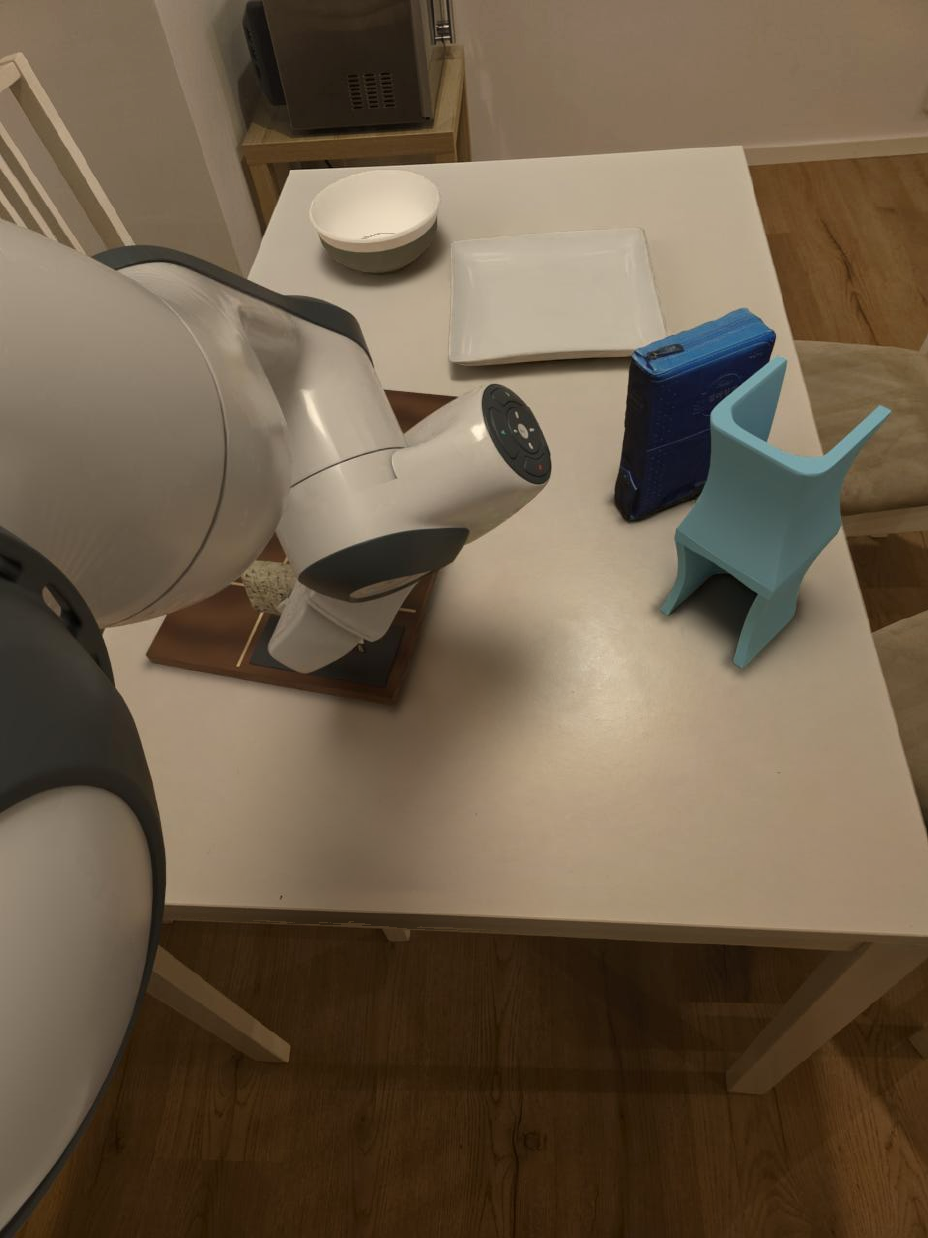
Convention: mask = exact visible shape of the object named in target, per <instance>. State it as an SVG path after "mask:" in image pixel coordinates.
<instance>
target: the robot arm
mask: <svg viewBox="0 0 928 1238" xmlns="http://www.w3.org/2000/svg"><path fill="white" fill-rule="evenodd" d="M383 389H384V387H383V385H382V383H381V381H380V379H379V376H378V374H377V373H376V369H375V365H374V361H373V358H372V355H371V352H370V349H369V346H368V344H367V341H366V339H365V337H364V333H363V331H362V328H361V325H360V322H359V321H358V319H357V318H356V317H355V315H353V314H352V313H351V312H349V311H348V310H346V309H345V308H342V307H340V306H338V305H336V304H333V303H331V302H329V301H326V300H324V299H320V298H316V297H313V296H308V295H299V294H282V293H279V292H277V291H274V290H272V289H269V288H268V287H266V286H263V285H260V284H258V283H256V282H255V281H252V280H250V279H247V278H245V277H243V276H241V275H240V274H237V273H235V272H232V271H230V270H228V269H226V268H223V267H221V266H219V265H217V264H214V263H212V262H210V261H208V260H205V259H203V258H200V257H198V256H195V255H192V254H189V253H187V252H185V251H184V252H183V251H181V250H177V249H174V248H169V247H167V246H159V245H153V244H151V245H150V244H133V245H124V246H119V247H114V248H110V249H107V250H104V251H101V252H98V253H96V254H93V255H91V256H89V255H87V254H86V253H84V252H81V251H79V250H77V249H74V248H73V247H70V246H68V245H66V244H64V243H61V242H59V241H58V240H54V239H53V238H51V237H48V236H46V235H45V234H41V233H39V232H37V231H34V230H32V229H29V228H27V227H24V226H22V225H18V224H17V223H13V222H11V221H8V220H5V219H3V218H0V1238H15V1237H16V1235H17V1234H18V1233H19V1231H20V1230H21V1229H22V1227H23V1226H24V1225H25V1224H26V1223H27V1221H28V1220H29V1218H30V1217H31V1216H32V1215H33V1213H34V1212H35V1211H36V1209H37V1208H38V1206H39V1205H40V1203H41V1201H42V1200H43V1199H44V1197H45V1196H46V1195H47V1193H48V1192H49V1190H50V1189H51V1187H52V1186H53V1184H54V1183H55V1181H56V1180H57V1178H58V1177H59V1175H60V1173H62V1170H63V1169H64V1167H65V1166H66V1164H67V1162H68V1161H69V1159H70V1158H71V1156H72V1154H73V1153H74V1151H75V1149H76V1148H77V1146H78V1144H79V1143H80V1141H81V1139H82V1138H83V1136H84V1134H85V1132H86V1130H87V1129H88V1127H89V1125H90V1123H91V1121H92V1119H93V1118H94V1116H95V1114H96V1112H97V1110H98V1108H99V1107H100V1105H101V1103H102V1101H103V1098H104V1097H105V1094H106V1092H107V1090H108V1088H109V1086H110V1084H111V1082H112V1079H113V1078H114V1076H115V1074H116V1071H117V1069H118V1067H119V1065H120V1062H121V1059H122V1057H123V1055H124V1053H125V1050H126V1048H127V1046H128V1043H129V1041H130V1039H131V1036H132V1033H133V1030H134V1027H135V1025H136V1022H137V1020H138V1017H139V1014H140V1012H141V1009H142V1006H143V1003H144V999H145V996H146V994H147V989H148V986H149V983H150V979H151V976H152V973H153V969H154V964H155V961H156V957H157V952H158V947H159V943H160V938H161V933H162V926H163V920H164V914H165V904H166V893H167V856H166V854H167V853H166V847H165V839H164V833H163V828H162V821H161V815H160V810H159V806H158V801H157V796H156V792H155V787H154V783H153V778H152V775H151V770H150V768H149V764H148V761H147V758H146V753H145V750H144V747H143V743H142V740H141V736H140V733H139V730H138V728H137V725H136V722H135V719H134V717H133V715H132V712H131V710H130V708H129V706H128V704H127V703H126V701H125V699H124V698H123V696H122V694H121V693H120V692H119V690H118V689H117V687H116V682H115V675H114V671H113V666H112V662H111V658H110V654H109V650H108V647H107V644H106V642H105V639H104V636H103V634H102V632H101V630H103V629H110V628H117V627H123V626H124V627H125V626H128V625H134V624H138V623H142V622H147V621H150V620H153V619H157V618H160V617H164V616H166V615H167V614H170V613H173V612H176V611H178V610H181V609H184V608H186V607H189V606H191V605H193V604H196V603H198V602H200V601H203V600H205V599H207V598H209V597H211V596H213V595H215V594H216V593H218V592H220V591H221V590H223V589H224V588H226V587H227V586H229V585H230V584H231V583H233V582H234V581H235V580H236V579H237V578H239V577H240V576H241V575H242V574H243V573H244V572H245V571H246V570H247V569H248V568H249V567H250V566H251V565H252V564H253V562H254V561H255V560H256V559H257V558H258V556H259V555H260V554H261V553H262V551H263V550H264V548H265V547H266V545H267V544H268V542H269V541H270V539H271V537H272V536H273V534H274V532H276V534H277V537H278V539H279V541H280V543H281V546H282V548H283V550H284V552H285V554H286V556H287V558H288V561H289V563H290V565H291V567H292V569H293V571H294V572H295V574H296V576H297V580H296V583H295V585H294V587H293V590H290V591H288V592H287V593H286V594H284V595H283V597H282V599H281V601H280V603H279V605H278V608H277V610H278V611H279V612H280V613H282V615H281V617H280V619H279V622H278V624H277V626H276V628H275V631H274V633H273V635H272V637H271V639H270V642H269V644H268V651H269V653H270V655H271V656H272V657H273V658H274V659H276V660H277V661H279V662H280V663H282V664H284V665H285V666H287V667H289V668H291V669H293V670H295V671H297V672H300V673H310V672H313V671H315V670H318V669H320V668H322V667H324V666H326V665H328V664H330V663H332V662H334V661H336V660H337V659H339V658H341V657H343V656H344V655H346V654H347V653H348V652H350V651H351V650H352V649H353V648H354V647H355V646H356V645H357V644H358V643H359V642H360V640H361V639H362V638H363V639H365V640H367V641H370V642H374V641H376V640H378V639H380V638H381V637H383V636H384V635H385V633H386V632H387V630H388V629H389V627H390V625H391V623H392V621H393V620H394V618H395V616H396V614H397V612H398V611H399V609H400V607H401V606H402V604H403V602H404V600H405V599H406V597H407V595H408V594H409V593H410V591H411V590H412V589H413V587H414V586H415V585H416V584H417V583H418V582H419V581H420V580H422V579H424V578H426V577H427V576H429V575H431V574H433V573H434V572H436V571H438V572H439V571H440V570H441V569H443V568H445V567H447V566H449V565H451V564H452V563H454V562H455V560H456V559H457V558H458V556H459V554H460V553H461V551H462V550H463V548H464V546H466V545H469V544H471V543H473V542H475V541H477V540H479V539H480V538H482V537H484V536H485V535H486V534H488V533H490V532H492V531H493V530H494V529H496V528H497V527H499V526H500V525H502V524H503V523H505V522H506V521H508V520H509V519H510V518H511V517H513V516H514V515H516V514H517V513H518V512H519V511H520V510H522V509H523V508H525V506H526V505H528V504H529V503H531V502H532V501H533V500H534V499H535V498H536V497H537V496H538V495H539V494H540V493H541V492H542V491H543V490H544V489H545V487H546V486H547V485H548V483H549V482H550V479H551V477H552V476H551V475H552V469H553V468H552V467H553V465H552V458H551V456H552V455H551V450H550V447H549V444H548V442H547V440H546V437H545V435H544V433H543V430H542V428H541V426H540V424H539V422H538V420H537V418H536V416H535V414H534V412H533V411H532V409H531V407H530V406H528V405H527V403H526V401H524V400H523V399H522V398H521V397H520V396H519V395H518V394H517V393H516V392H515V391H513V390H512V389H511V388H509V387H507V386H505V385H503V384H501V383H498V382H488V383H484V384H482V385H479V386H477V387H476V388H473V389H471V390H469V391H468V392H465V393H463V394H461V395H460V396H457V397H458V398H456V399H454V400H453V401H451V402H449V403H447V404H446V405H444V406H443V407H441V408H439V409H438V410H436V411H435V412H433V413H432V414H430V415H429V416H427V417H426V418H424V419H423V420H422V421H420V422H419V423H418V424H416V425H415V426H414V427H412V428H411V429H410V430H408V431H407V432H406V433H404V434H403V432H402V430H401V428H400V426H399V423H398V421H397V419H396V417H395V414H394V412H393V410H392V408H391V405H390V403H389V401H388V399H387V396H386V394H385V392H384V390H383Z"/></svg>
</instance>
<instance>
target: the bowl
mask: <svg viewBox="0 0 928 1238" xmlns="http://www.w3.org/2000/svg"><path fill="white" fill-rule="evenodd" d="M441 203H442V200H441V194H440V191H439V189H438V187H437V185H436V184H435V183H433V181H431V180H430V179H428V178H427V177H426V176H424V175H422V174H419V173H417V172H412V171H410V170H409V171H408V170H404V169H403V170H402V169H373V170H367V171H362V172H361V171H360V172H357V173H354V174H351V175H348V176H345V177H343V178H341V179H337V180H336V181H334V182H332V183H330V184H328V185H327V186H326V187H324V188H323V189H322V190H321V191H319V192H318V194H317V195H316V196H315V197H314V199H313V200H312V202H311V204H310V205H309V210H308V218H309V222H310V224H311V225H312V227H313V228H314V230H315V231H316V233H317V234H318V237H319V240H320V243H321V245H322V247H323V248H324V250H325V251H326V252H327V253H328V254H329V255H330V256H331V258H333V259H334V261H336V262H337V263H339V264H341V265H343V266H344V267H345V266H346V267H347V268H350V269H352V270H355V271H358V272H364V273H367V274H371V275H388V274H392V273H395V272H398V271H400V270H402V269H403V268H405V267H407V266H408V265H409V264H411V263H413V262H414V261H416V260H417V259H418V258H419V257H420V256H421V255H422V254H423V253H424V252H425V251H426V250H427V249H428V248H429V246H430V245H431V243H432V242H433V240H434V237H435V235H436V232H437V229H438V214H439V209H440V206H441ZM377 233H395V234H380V235H375V236H372V237H369V238H367V239H361V238H363V237H364V236H370V235H374V234H377Z"/></svg>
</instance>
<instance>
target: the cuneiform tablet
mask: <svg viewBox="0 0 928 1238" xmlns="http://www.w3.org/2000/svg"><path fill="white" fill-rule="evenodd" d="M240 577H241V579H242V582H243V584H244V586H245V590H246V593H247V595H248V597H249V599H250V602H251V605H252V607H253V609H254V610H255V611H256V612H258V613H270V614H276V615H278V616H281V615H282V613H280V612H279V611H278V610H277V608H278V605H279V603H280V601H281V599H282V597H283V595H284V594H286V593H287V592H288V591H290V590H293V587H294V585H295V583H296V580H297V576H296V574H295V572H294V571H293V569H292V567H291V565H290V564H286V563H279V562H271V561H258V560H255V561H254V562H253V564H252V565H251V566H250V567H249V568H248V569H247V570H246V571H245V572H244V573H243V574H242V575H241V576H240ZM351 651H353V652H359V653H365V654H366V653H367V652H366V648H365V645H364V641H363V638H362V639H361V640H360V642H359V643H358V644H357V645H356V646H355V647H354V648H353V649H352V650H351Z"/></svg>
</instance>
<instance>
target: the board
mask: <svg viewBox="0 0 928 1238" xmlns="http://www.w3.org/2000/svg"><path fill="white" fill-rule="evenodd" d="M383 390H384V392H385V394H386V396H387V399H388V401H389V403H390V405H391V408H392V410H393V412H394V414H395V417H396V419H397V421H398V423H399V426H400V428H401V430H402V432H403V434H404V433H406V432H407V431H408V430H410V429H411V428H412V427H414V426H415V425H416V424H418V423H419V422H420V421H422V420H423V419H424V418H426V417H427V416H429V415H430V414H432V413H433V412H435V411H436V410H438V409H439V408H441V407H443V406H444V405H446V404H447V403H449V402H451V401H453V400H454V399H456V398H458V397H459V396H456V395H446V394H435V393H427V392H426V393H425V392H414V391H406V390H405V391H404V390H394V389H384V388H383ZM256 560H258V561H271V562H279V563H286V564H290V563H289V561H288V558H287V556H286V554H285V552H284V550H283V548H282V546H281V543H280V541H279V539H278V537H277V534H276V532H274V534H273V536H272V537H271V539H270V541H269V542H268V544H267V545H266V547H265V548H264V550H263V551H262V553H261V554H260V555H259V556H258V558H257V559H256ZM438 573H439V570H438V571H436V572H434V573H433V574H431V575H429V576H427V577H426V578H424V579H422V580H420V581H419V582H418V583H417V584H416V585H415V586H414V587H413V589H412V590H411V591H410V593H409V594H408V595H407V597H406V599H405V600H404V602H403V604H402V606H401V607H400V609H399V611H398V612H397V614H396V616H395V618H394V620H393V621H392V623H391V625H390V627H389V629H388V630H387V632H386V633H385V635H384V636H383V637H381V638H380V639H378V640H376V641H374V642H370V641H367V640H365V639H363V641H364V645H365V648H366V652H367V653H366V654H365V653H359V652H353V651H350V652H348V653H347V654H346V655H344V656H343V657H341V658H339V659H337V660H336V661H334V662H332V663H330V664H328V665H326V666H324V667H322V668H320V669H318V670H315V671H313V672H310V673H300V672H297V671H295V670H293V669H291V668H289V667H287V666H285V665H284V664H282V663H280V662H279V661H277V660H276V659H274V658H273V657H272V656H271V655H270V653H269V651H268V644H269V642H270V639H271V637H272V635H273V633H274V631H275V628H276V626H277V624H278V622H279V619H280V617H281V616H278V615H276V614H270V613H258V612H256V611H255V610H254V609H253V607H252V605H251V602H250V599H249V597H248V595H247V593H246V590H245V586H244V584H243V582H242V579H241V577H239V578H237V579H236V580H235V581H234V582H233V583H231V584H230V585H229V586H227V587H226V588H224V589H223V590H221V591H220V592H218V593H216V594H215V595H213V596H211V597H209V598H207V599H205V600H203V601H200V602H198V603H196V604H193V605H191V606H189V607H186V608H184V609H181V610H178V611H176V612H173V613H170V614H167V615H165V617H164V619H163V621H162V623H161V625H160V626H159V629H158V630H157V632H156V634H155V635H154V638H153V640H152V642H151V643H150V644H149V647H148V649H147V651H146V653H145V657H146V658H147V659H148V660H149V662H150V663H153V664H158V665H163V666H169V667H173V668H180V669H186V670H192V671H196V672H202V673H208V674H212V675H213V674H214V675H219V676H225V677H230V678H235V679H241V680H247V681H253V682H259V683H264V684H270V685H274V686H281V687H286V688H289V689H290V688H291V689H296V690H302V691H308V692H314V693H317V694H318V693H319V694H325V695H330V696H335V697H341V698H346V699H352V700H357V701H363V702H368V703H374V704H379V705H384V706H385V705H386V706H391V707H395V705H396V702H397V700H398V695H399V693H400V689H401V687H402V685H403V684H402V683H403V680H404V677H405V675H406V671H407V668H408V665H409V662H410V659H411V656H412V652H413V649H414V647H415V643H416V640H417V637H418V634H419V631H420V628H421V625H422V623H423V622H422V621H423V619H424V615H425V613H426V609H427V607H428V603H429V600H430V598H431V594H432V590H433V588H434V584H435V581H436V578H437V575H438Z"/></svg>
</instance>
